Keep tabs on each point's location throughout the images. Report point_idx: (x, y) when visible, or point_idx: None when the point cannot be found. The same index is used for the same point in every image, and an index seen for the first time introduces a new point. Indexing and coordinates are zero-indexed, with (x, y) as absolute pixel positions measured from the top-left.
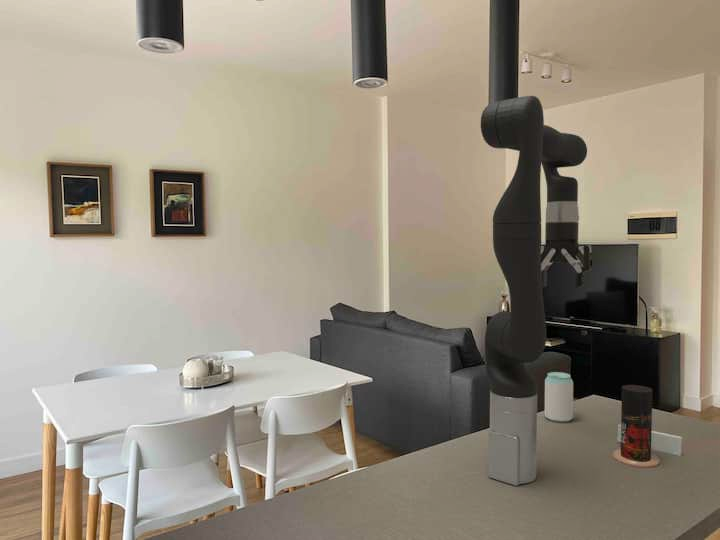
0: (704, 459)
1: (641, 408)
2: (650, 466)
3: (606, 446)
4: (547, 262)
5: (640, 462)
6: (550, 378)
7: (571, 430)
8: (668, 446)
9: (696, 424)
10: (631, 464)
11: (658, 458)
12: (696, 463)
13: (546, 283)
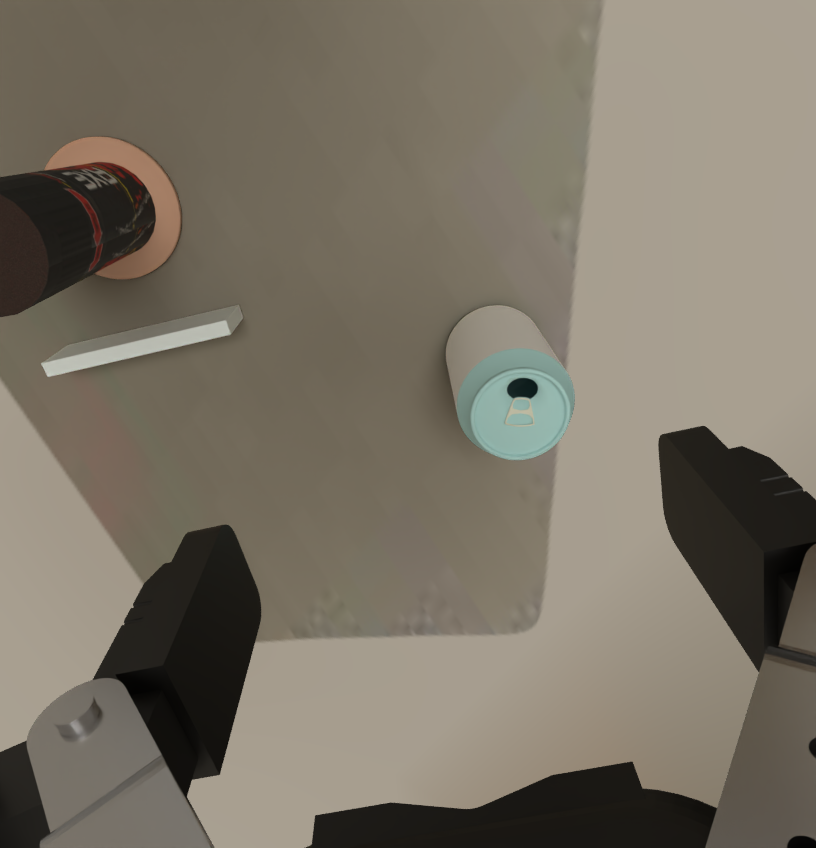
0: (20, 374)
1: None
2: None
3: (233, 237)
4: (762, 686)
5: None
6: (532, 365)
7: (395, 281)
8: (89, 344)
9: None
10: (78, 139)
11: None
12: (9, 326)
13: (679, 537)
